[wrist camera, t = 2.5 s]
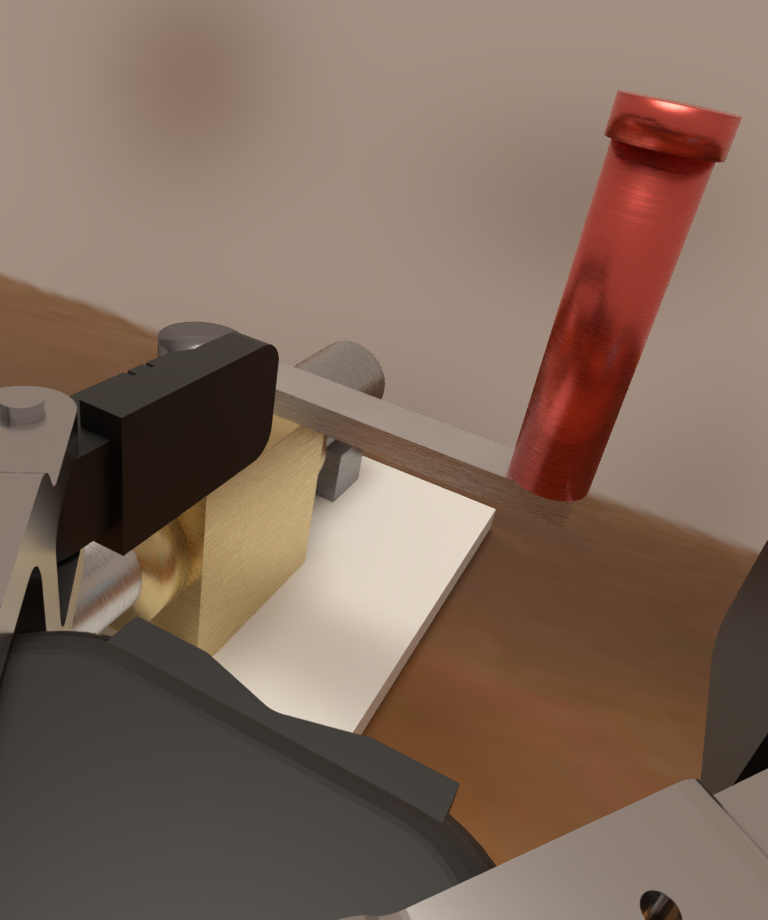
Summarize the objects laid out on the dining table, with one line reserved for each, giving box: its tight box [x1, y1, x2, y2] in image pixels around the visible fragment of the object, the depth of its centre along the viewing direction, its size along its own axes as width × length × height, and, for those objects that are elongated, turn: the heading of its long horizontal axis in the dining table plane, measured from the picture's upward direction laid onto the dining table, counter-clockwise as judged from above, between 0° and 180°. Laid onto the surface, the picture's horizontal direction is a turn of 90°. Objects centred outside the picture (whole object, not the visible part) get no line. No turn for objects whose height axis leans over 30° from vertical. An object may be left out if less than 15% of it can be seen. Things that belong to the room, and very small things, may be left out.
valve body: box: [71, 341, 385, 657], centre depth 31 cm, size 7×28×10 cm, turn 155°
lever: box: [158, 91, 742, 530], centre depth 23 cm, size 17×3×12 cm, turn 65°
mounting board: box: [98, 456, 496, 735], centre depth 34 cm, size 20×29×2 cm
